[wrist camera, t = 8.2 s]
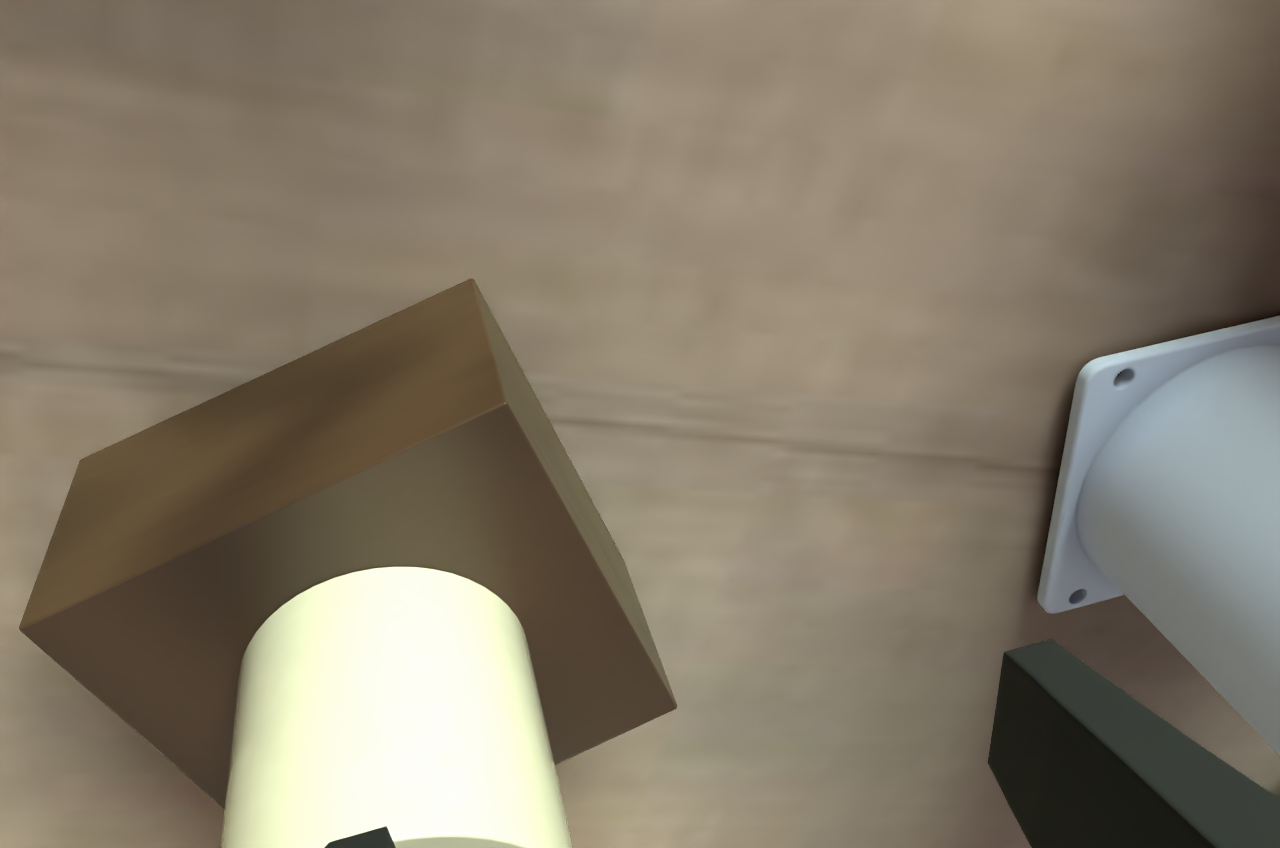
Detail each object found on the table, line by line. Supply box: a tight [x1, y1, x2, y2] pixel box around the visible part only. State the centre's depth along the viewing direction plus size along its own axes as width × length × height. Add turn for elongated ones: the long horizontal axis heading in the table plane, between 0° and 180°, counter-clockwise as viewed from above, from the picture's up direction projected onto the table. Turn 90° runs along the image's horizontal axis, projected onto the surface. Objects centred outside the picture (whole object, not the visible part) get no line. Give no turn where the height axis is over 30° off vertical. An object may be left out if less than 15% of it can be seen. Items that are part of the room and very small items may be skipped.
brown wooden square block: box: [19, 279, 677, 809], centre depth 19 cm, size 8×8×4 cm
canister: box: [221, 566, 573, 848], centre depth 15 cm, size 5×5×5 cm
